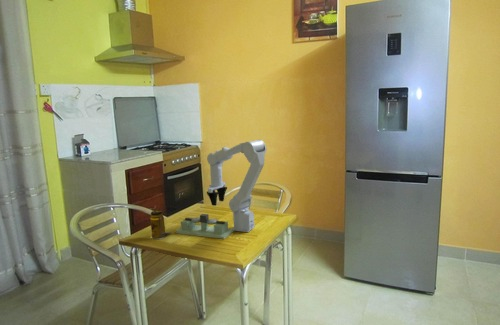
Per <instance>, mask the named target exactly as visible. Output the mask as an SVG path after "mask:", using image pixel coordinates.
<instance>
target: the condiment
mask: <svg viewBox="0 0 500 325" xmlns="http://www.w3.org/2000/svg"><path fill="white" fill-rule="evenodd" d="M149 221H150V229H151V236H152V238H154V239H153V240H163V239H165V238H166V237H168V236H169V235H171V234H172V232H166V227H165V226H166V224H165V216H164V214H163V210H161V209H160V210H159V209H158V210H152V211H151V212H150V219H149Z"/></svg>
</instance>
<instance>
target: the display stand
mask: <svg viewBox="0 0 500 325" xmlns="http://www.w3.org/2000/svg"><path fill="white" fill-rule="evenodd" d="M208 225H209V224H207V223H201V222H200V224H196V223H193V222H192V221H187V220H185V219H183V220H181V221H180V227H179V228H177V230H175V231H174V232H175V234H181V235H189V236H190V235H191V236H197V237H198V236H199V237H206V238H214V239H220V240H221V239H222V240H225V239H226V238H227V237H229V236H230V235H231V234H233V233H234V232H235V231H234V229H232V228H229V221H225V224H213V226H212V225H211V226H210V225H209V226H208Z"/></svg>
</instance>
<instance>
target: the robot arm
mask: <svg viewBox="0 0 500 325" xmlns="http://www.w3.org/2000/svg"><path fill="white" fill-rule="evenodd" d="M266 152H267V147H266V144H265V141H264V140H261V139H256V140H252V141H245V142H241V143H239V144H236V145H235V146H232V147H231V148H230V147H226V146H224V147H221V149H220V150H217V149H216V150H215V152H210V153H208V155H207V157H206V161H207V164H208V165H209V168H210V169H209V171H210V173H209V174H210V184H209V186H208V188H207V191H206V194H207V196H208V197H209V201H210V203H211V206H215V207H216V206H217V203H218V202H217V201H219V202H224V201H225V196H226V195H225V194H226V192H227V190H228V187H227V186H226V182H225V181H223V169H222V168H223V163H224V162H226V161H229V160H231V159H232V158H233V156H234V155H236V154H240V153H241V154H243V155H244V156H245V159H246V160H247V161H248V163H250V165H249V167H248V170H247V172H246V175H244V176H245V177H244V179H243V181H242V183H241V186H240V187H239V190H238V192H236V194H234V195H233V197H232V198H231V199H230V200H229V202H228V207H229V209H230V210H231V212H232V219H233V227H232V228H231V229H234V232H245V233H249V232H250V231H252V230H253V229H254V228H255V227H256V225H255V216H254V212H253V211H251V210H249V209H250V207H251V205H252V198H253V196H252V191H253V190H254V187H255V185H256V183H257V180H258V178H259V176H260V174H261V172H262V170H263V168H264V166H265V157H266Z"/></svg>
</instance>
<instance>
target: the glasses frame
mask: <svg viewBox="0 0 500 325" xmlns="http://www.w3.org/2000/svg"><path fill="white" fill-rule="evenodd" d="M209 218H210V217H209V214H208V213H207V214H206V213H202V214H200V215H199V217H198V216H197V217H185V218H184V220H187V221H192V222H193V223H195V224H199V223H200V224H201V223H207V224H208V225H209V226H210V225H211V226H212V225H215V224H225V222H226V221H225V220H223V221H222V220H218V219H217V218H210V219H209Z"/></svg>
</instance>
